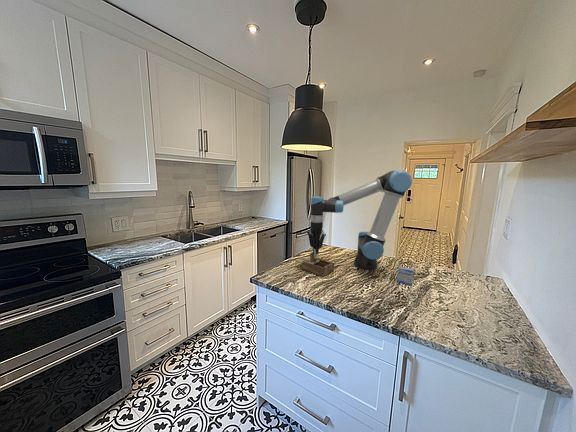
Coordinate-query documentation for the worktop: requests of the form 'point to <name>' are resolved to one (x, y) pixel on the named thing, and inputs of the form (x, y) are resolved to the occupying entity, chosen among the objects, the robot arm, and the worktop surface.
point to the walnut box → (319, 267)
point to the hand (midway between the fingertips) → (315, 258)
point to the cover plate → (308, 259)
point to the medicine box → (405, 275)
